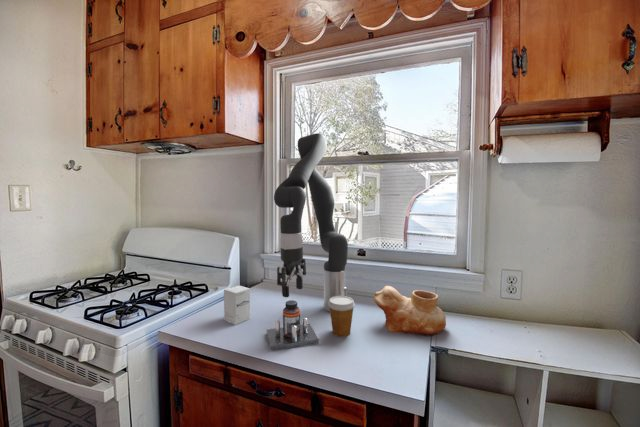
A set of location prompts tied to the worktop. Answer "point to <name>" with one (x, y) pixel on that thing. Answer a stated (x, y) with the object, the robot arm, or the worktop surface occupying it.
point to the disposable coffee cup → (341, 314)
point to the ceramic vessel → (411, 312)
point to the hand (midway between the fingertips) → (292, 292)
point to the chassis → (283, 342)
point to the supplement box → (236, 304)
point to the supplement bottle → (291, 318)
